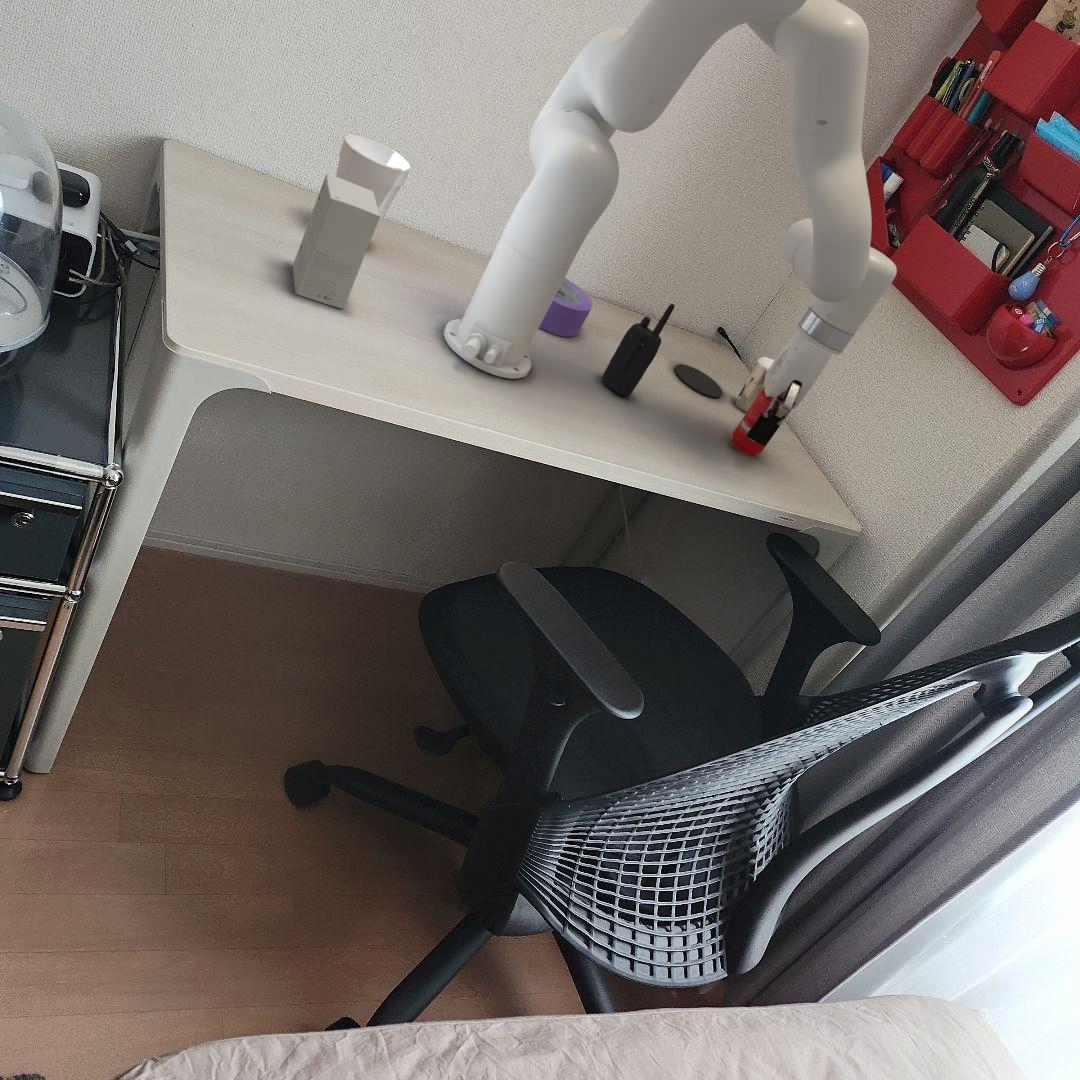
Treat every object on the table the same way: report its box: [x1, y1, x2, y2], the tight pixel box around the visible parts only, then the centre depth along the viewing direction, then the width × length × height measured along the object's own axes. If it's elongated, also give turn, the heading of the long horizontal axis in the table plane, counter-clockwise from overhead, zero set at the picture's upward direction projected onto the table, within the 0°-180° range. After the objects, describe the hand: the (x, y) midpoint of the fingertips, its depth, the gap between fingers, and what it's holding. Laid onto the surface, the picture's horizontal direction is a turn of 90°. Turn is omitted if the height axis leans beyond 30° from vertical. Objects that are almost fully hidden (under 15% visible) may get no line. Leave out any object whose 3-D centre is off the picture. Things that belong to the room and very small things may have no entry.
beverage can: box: [730, 386, 795, 457], centre depth 149 cm, size 5×5×12 cm
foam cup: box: [335, 133, 411, 236], centre depth 141 cm, size 10×9×13 cm
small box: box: [292, 173, 380, 310], centre depth 124 cm, size 8×6×13 cm
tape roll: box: [538, 277, 594, 338], centre depth 155 cm, size 12×12×5 cm
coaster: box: [673, 363, 724, 400], centre depth 165 cm, size 9×9×1 cm
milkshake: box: [734, 356, 776, 413], centre depth 163 cm, size 4×5×10 cm
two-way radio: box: [601, 303, 676, 397], centre depth 142 cm, size 6×4×15 cm
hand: (756, 429), depth 150 cm, fingers open, 7 cm apart
